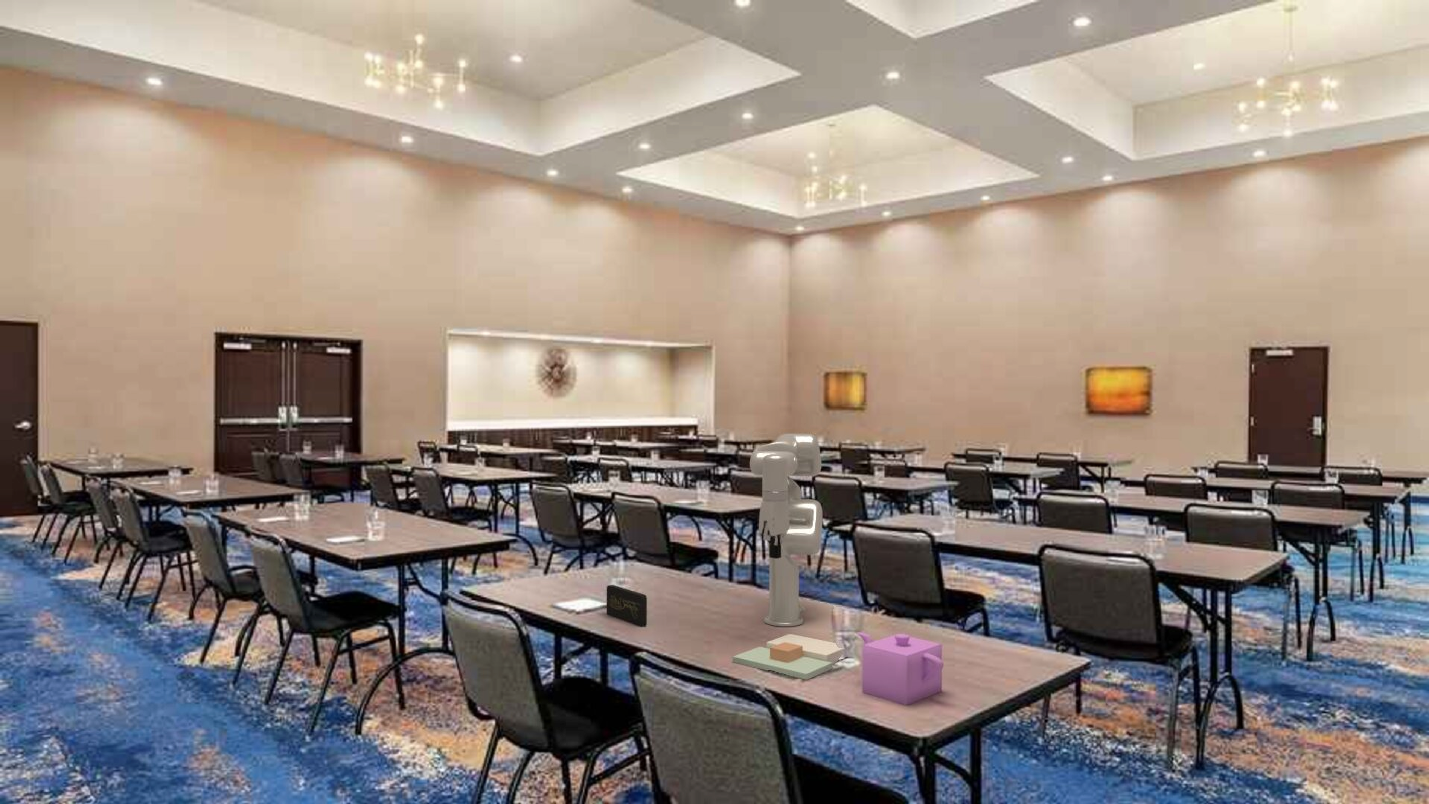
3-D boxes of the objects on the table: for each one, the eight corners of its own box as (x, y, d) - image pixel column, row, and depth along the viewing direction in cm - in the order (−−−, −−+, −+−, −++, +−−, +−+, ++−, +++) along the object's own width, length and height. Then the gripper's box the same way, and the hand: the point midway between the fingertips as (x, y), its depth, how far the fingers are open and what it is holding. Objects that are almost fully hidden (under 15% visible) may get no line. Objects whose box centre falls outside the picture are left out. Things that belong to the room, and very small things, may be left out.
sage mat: (760, 651, 249) (760, 646, 249) (832, 668, 233) (832, 662, 233) (732, 662, 239) (732, 656, 239) (806, 679, 224) (806, 674, 224)
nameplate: (646, 626, 277) (646, 595, 277) (641, 627, 276) (641, 596, 276) (611, 614, 293) (611, 584, 293) (606, 614, 292) (606, 585, 292)
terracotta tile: (784, 652, 242) (784, 642, 242) (802, 656, 239) (802, 646, 239) (769, 658, 237) (769, 647, 237) (788, 662, 233) (788, 651, 233)
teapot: (875, 673, 230) (875, 619, 230) (959, 696, 212) (959, 638, 212) (839, 685, 220) (839, 630, 220) (924, 711, 201) (924, 650, 201)
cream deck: (790, 644, 257) (790, 633, 257) (849, 656, 244) (849, 646, 244) (766, 652, 248) (766, 642, 248) (826, 666, 235) (826, 655, 235)
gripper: (778, 492, 266) (778, 551, 267) (750, 498, 254) (750, 560, 255) (799, 494, 261) (799, 554, 262) (771, 500, 250) (771, 564, 250)
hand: (775, 557), depth 259 cm, fingers closed
